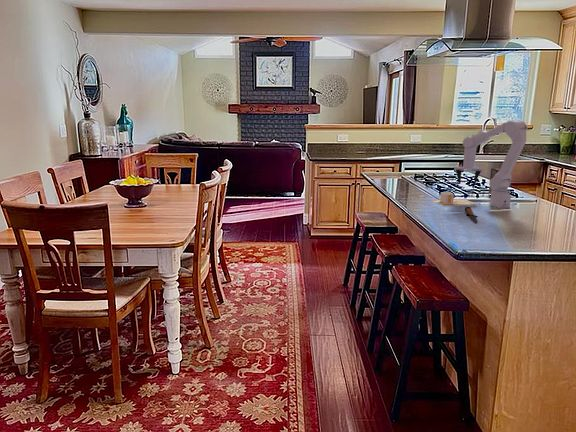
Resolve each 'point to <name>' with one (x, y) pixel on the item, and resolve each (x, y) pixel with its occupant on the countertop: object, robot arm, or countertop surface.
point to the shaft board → (455, 202)
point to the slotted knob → (446, 197)
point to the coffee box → (493, 172)
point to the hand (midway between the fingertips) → (467, 184)
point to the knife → (471, 214)
